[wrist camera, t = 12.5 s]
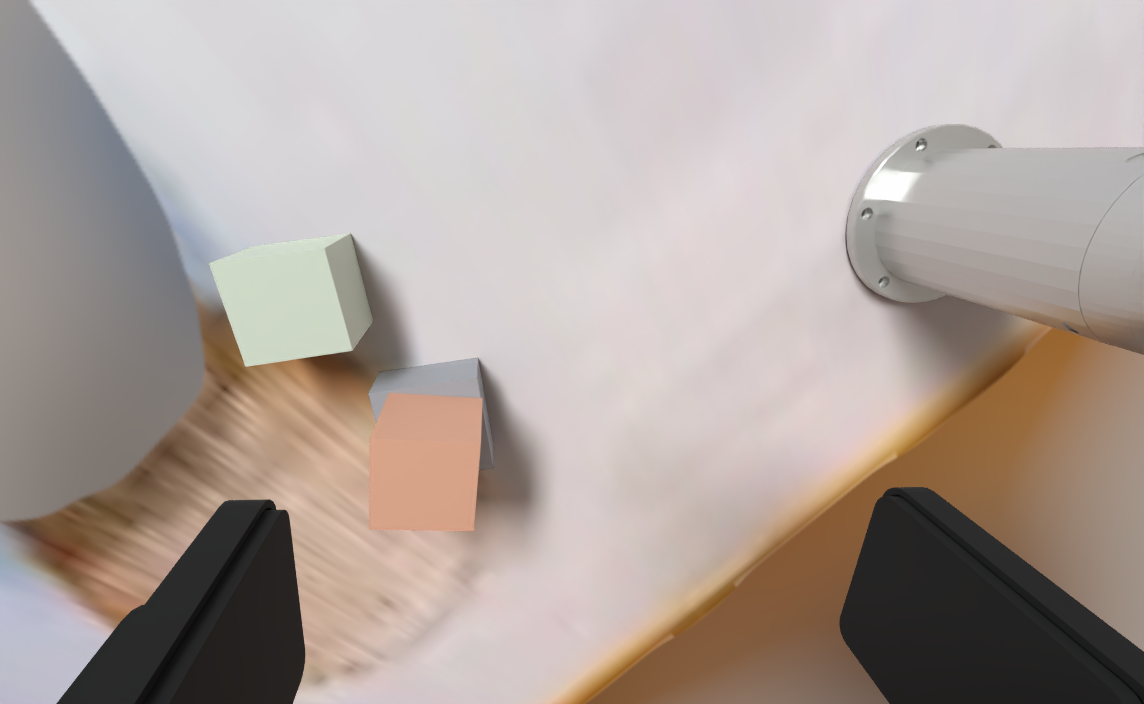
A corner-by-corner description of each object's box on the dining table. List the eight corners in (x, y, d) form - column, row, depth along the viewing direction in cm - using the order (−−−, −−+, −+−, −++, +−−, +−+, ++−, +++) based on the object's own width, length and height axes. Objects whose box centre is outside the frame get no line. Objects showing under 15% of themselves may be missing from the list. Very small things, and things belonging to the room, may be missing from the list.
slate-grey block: (477, 356, 39) (477, 377, 36) (492, 440, 42) (493, 468, 38) (379, 370, 39) (368, 393, 35) (401, 454, 41) (392, 485, 37)
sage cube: (351, 233, 35) (324, 248, 29) (373, 321, 37) (352, 350, 32) (254, 245, 34) (208, 263, 29) (283, 334, 37) (245, 366, 31)
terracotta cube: (482, 398, 36) (480, 443, 31) (476, 475, 38) (473, 531, 33) (388, 392, 35) (369, 438, 30) (387, 472, 37) (369, 529, 32)
